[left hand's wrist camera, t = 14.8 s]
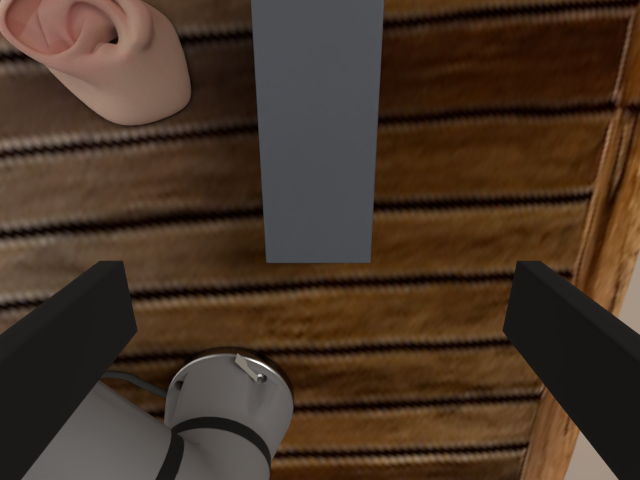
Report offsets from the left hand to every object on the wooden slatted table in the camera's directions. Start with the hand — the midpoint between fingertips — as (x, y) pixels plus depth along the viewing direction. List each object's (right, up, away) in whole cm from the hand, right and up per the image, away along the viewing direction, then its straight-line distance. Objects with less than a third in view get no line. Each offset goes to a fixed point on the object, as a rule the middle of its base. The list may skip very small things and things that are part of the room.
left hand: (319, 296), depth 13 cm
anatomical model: (-18, +18, +20) cm, 33 cm away
